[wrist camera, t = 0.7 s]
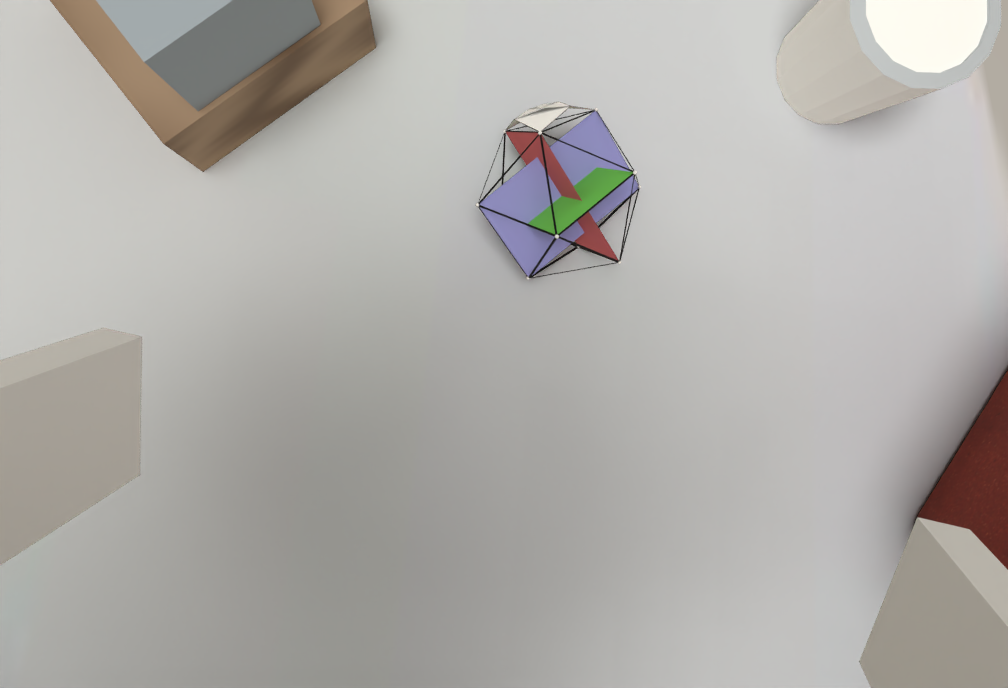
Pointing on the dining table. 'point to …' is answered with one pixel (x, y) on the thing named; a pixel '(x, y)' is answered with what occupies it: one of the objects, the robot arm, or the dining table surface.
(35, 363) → the robot arm
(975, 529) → the plant pot
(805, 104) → the white cup
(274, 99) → the tower base block
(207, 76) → the tower top block
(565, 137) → the geometric puzzle
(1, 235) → the dining table surface
